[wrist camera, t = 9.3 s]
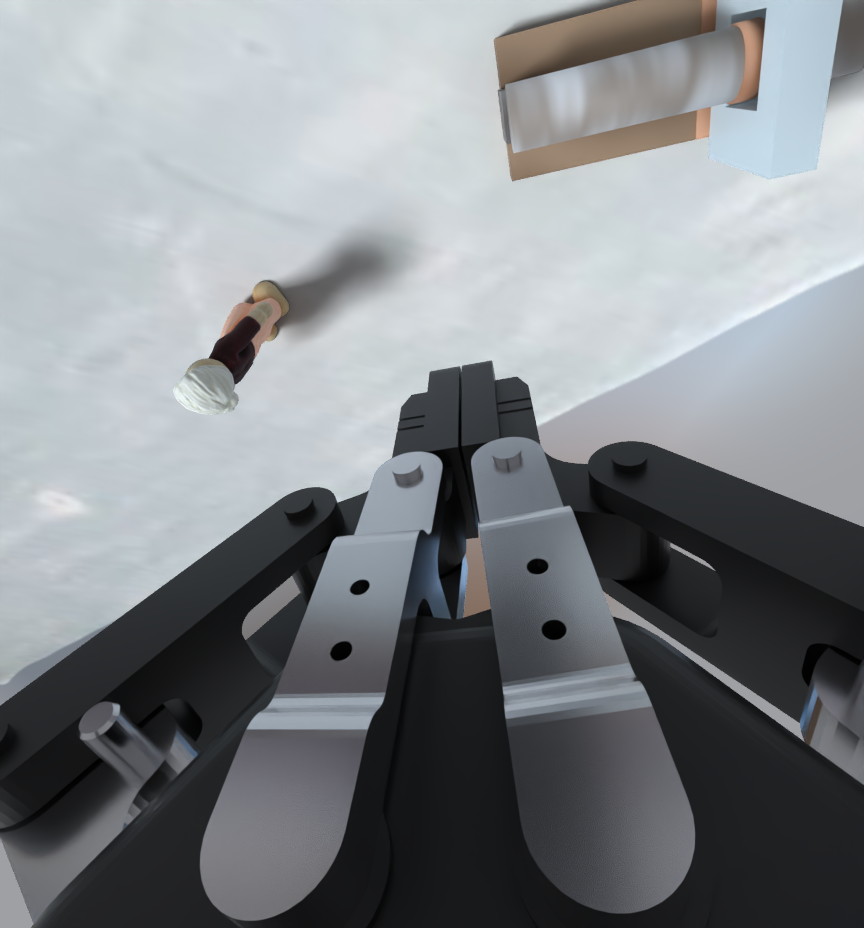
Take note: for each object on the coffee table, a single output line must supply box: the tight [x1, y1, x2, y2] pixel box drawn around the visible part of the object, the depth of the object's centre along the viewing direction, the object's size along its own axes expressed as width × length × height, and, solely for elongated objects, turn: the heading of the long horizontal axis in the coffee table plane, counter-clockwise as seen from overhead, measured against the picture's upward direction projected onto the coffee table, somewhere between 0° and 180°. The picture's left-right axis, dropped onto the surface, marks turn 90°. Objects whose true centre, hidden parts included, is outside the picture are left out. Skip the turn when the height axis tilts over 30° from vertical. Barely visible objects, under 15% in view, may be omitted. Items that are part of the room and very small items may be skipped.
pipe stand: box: [494, 0, 864, 181], centre depth 29 cm, size 7×16×8 cm, turn 102°
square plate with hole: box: [708, 0, 843, 179], centre depth 26 cm, size 9×2×8 cm, turn 12°
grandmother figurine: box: [174, 281, 289, 415], centre depth 36 cm, size 8×4×13 cm, turn 156°
